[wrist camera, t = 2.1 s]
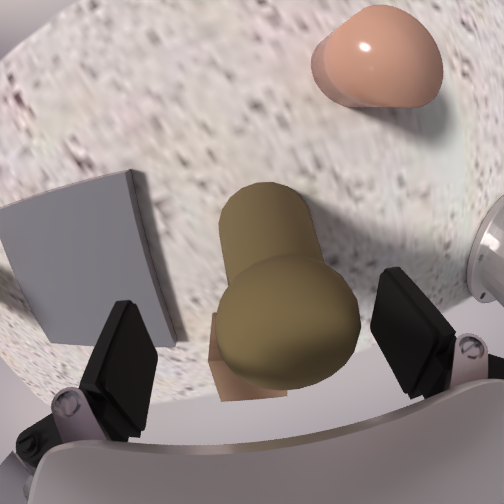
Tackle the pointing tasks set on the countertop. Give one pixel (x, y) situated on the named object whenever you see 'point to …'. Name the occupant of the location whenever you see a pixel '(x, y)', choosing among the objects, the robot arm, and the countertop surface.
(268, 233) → the olive tall rounded piece
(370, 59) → the peach blob
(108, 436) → the robot arm
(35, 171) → the countertop surface
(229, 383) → the walnut block
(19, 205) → the slate tile
